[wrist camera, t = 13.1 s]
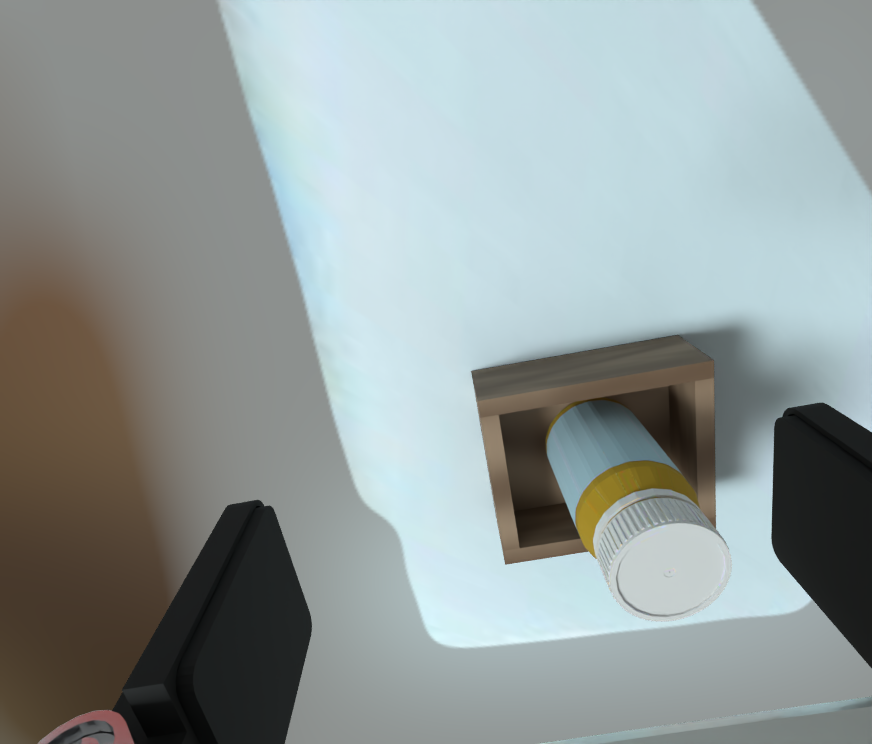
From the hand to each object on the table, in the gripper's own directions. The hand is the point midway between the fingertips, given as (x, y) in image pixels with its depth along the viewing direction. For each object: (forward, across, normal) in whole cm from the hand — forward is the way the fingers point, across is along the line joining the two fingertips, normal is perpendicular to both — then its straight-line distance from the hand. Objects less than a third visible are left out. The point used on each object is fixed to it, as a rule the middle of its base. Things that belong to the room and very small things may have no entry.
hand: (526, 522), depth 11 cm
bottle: (+29, -8, +15) cm, 34 cm away
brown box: (+30, -7, +15) cm, 34 cm away
